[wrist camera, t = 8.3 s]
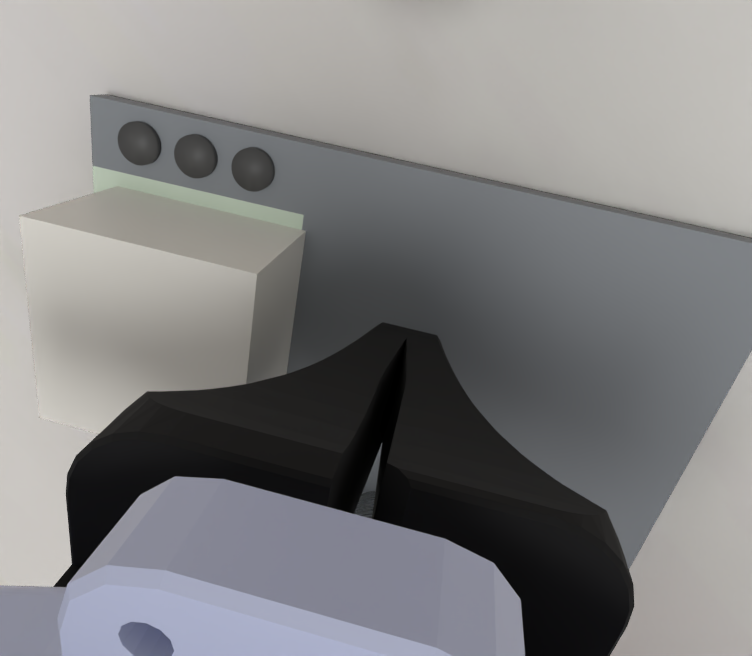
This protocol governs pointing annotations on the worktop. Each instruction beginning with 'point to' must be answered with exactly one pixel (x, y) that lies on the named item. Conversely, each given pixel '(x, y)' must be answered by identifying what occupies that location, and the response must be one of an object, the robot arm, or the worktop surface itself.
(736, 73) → the worktop surface
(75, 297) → the white block
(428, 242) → the board
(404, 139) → the worktop surface
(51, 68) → the worktop surface
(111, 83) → the worktop surface
